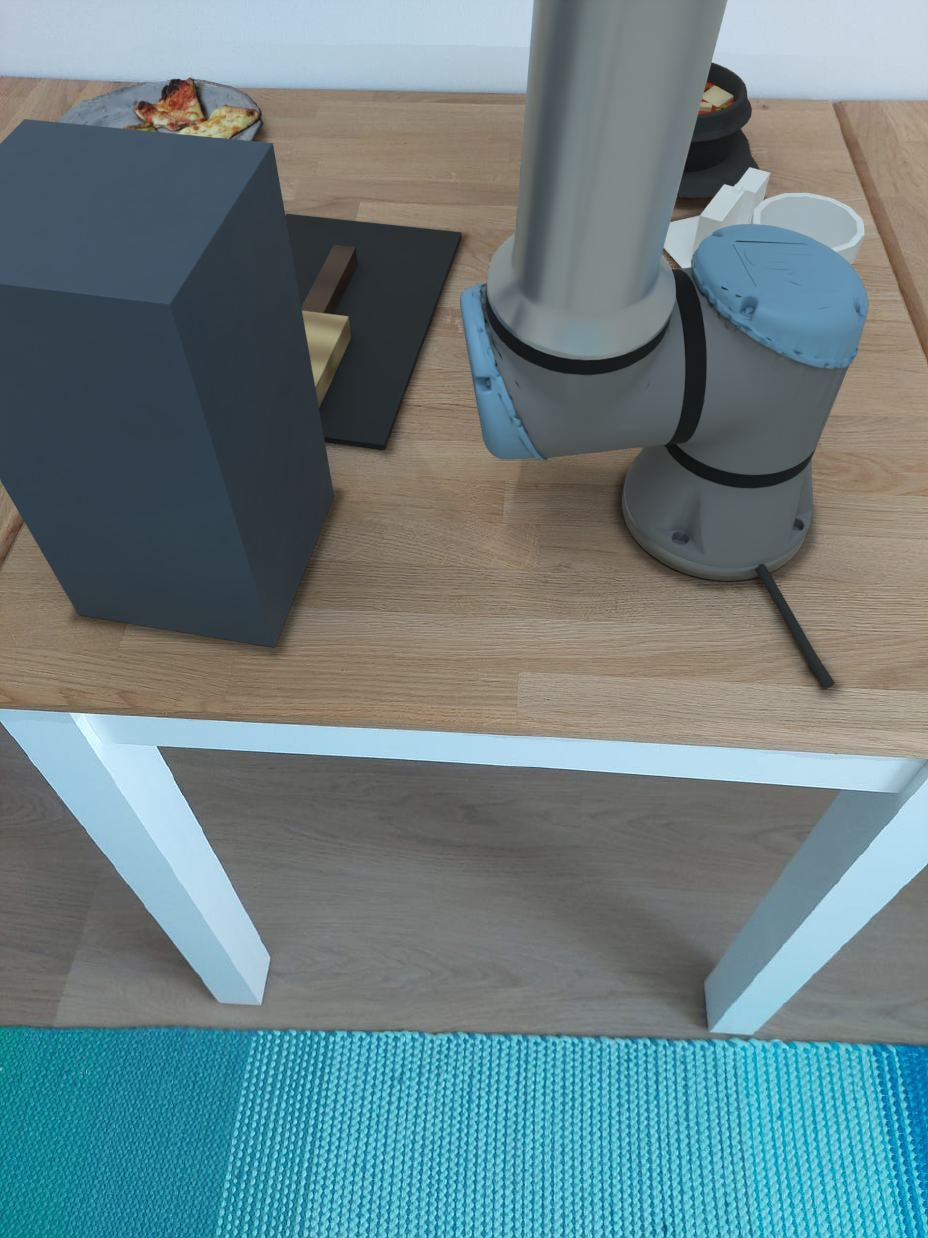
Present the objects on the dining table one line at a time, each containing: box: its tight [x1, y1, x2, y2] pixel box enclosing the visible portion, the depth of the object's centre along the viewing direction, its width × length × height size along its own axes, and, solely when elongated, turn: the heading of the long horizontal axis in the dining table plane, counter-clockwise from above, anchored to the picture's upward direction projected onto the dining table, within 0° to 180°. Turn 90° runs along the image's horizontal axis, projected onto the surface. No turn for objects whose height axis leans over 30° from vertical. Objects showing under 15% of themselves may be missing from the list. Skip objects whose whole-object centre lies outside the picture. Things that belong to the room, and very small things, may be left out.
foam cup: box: [750, 192, 865, 266], centre depth 85 cm, size 10×9×13 cm
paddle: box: [301, 245, 357, 408], centre depth 90 cm, size 24×8×2 cm, turn 168°
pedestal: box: [0, 118, 335, 648], centre depth 64 cm, size 16×16×30 cm
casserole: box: [677, 61, 761, 199], centre depth 108 cm, size 25×19×8 cm
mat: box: [285, 213, 462, 451], centre depth 93 cm, size 34×20×1 cm, turn 169°
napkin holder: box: [663, 167, 771, 269], centre depth 99 cm, size 15×11×6 cm
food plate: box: [58, 77, 264, 141], centre depth 113 cm, size 25×23×4 cm
